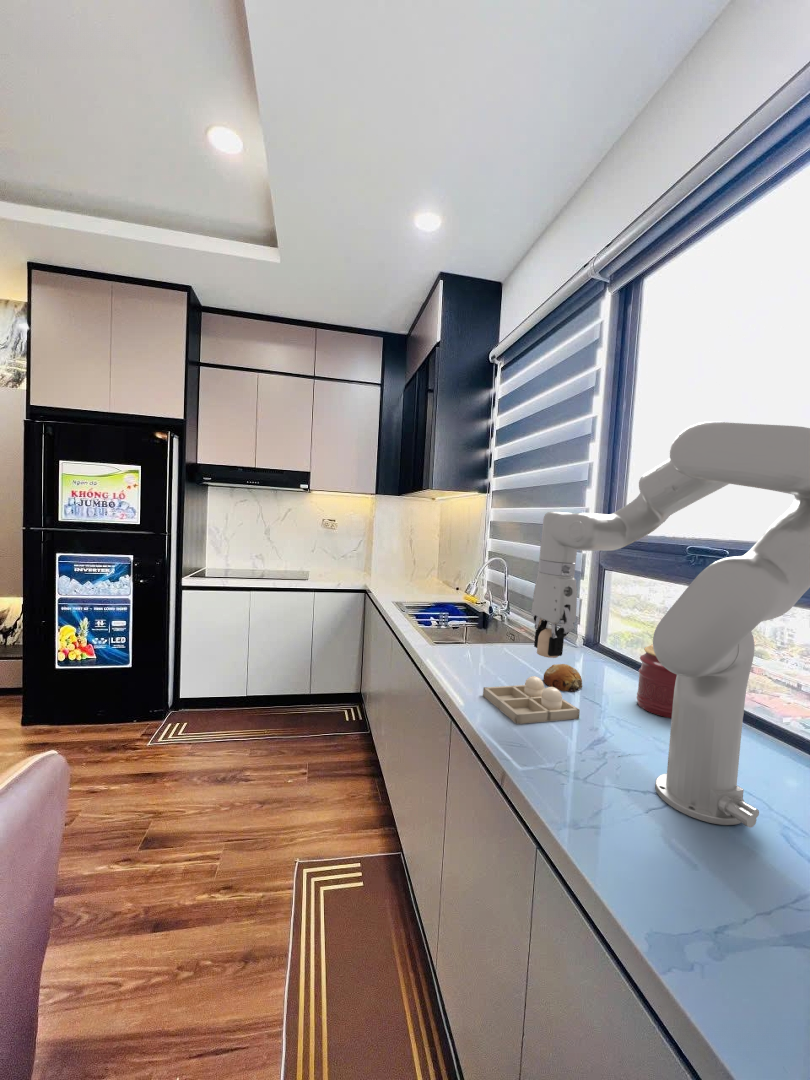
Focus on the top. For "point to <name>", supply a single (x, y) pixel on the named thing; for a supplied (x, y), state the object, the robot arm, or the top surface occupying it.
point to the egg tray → (526, 705)
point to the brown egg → (544, 643)
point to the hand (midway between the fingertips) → (547, 650)
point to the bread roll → (563, 677)
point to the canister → (655, 685)
